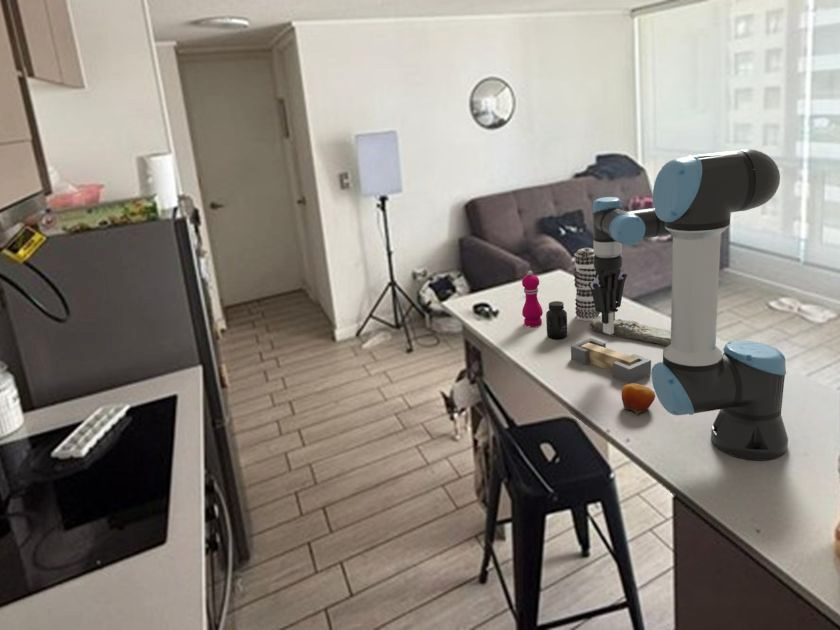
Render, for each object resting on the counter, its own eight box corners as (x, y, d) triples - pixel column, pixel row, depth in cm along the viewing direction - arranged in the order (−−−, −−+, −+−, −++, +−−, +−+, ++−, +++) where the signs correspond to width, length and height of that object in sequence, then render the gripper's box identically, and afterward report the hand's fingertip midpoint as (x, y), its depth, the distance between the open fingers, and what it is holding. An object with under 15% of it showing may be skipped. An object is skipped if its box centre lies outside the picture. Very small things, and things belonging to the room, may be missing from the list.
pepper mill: (521, 327, 216) (518, 274, 209) (524, 320, 223) (520, 268, 216) (542, 327, 214) (539, 273, 207) (544, 320, 220) (541, 267, 214)
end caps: (650, 374, 172) (651, 360, 170) (629, 383, 168) (629, 369, 166) (591, 351, 191) (591, 338, 189) (571, 359, 187) (570, 345, 186)
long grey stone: (685, 357, 183) (699, 347, 189) (687, 341, 181) (701, 331, 187) (582, 330, 206) (597, 322, 213) (583, 316, 204) (598, 308, 211)
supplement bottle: (568, 340, 201) (566, 306, 197) (547, 341, 202) (545, 307, 198) (567, 332, 207) (566, 299, 203) (547, 333, 209) (545, 300, 205)
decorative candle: (607, 316, 217) (605, 248, 208) (587, 323, 213) (586, 254, 204) (588, 310, 224) (586, 244, 216) (569, 317, 220) (567, 250, 212)
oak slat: (638, 374, 173) (638, 358, 172) (630, 378, 171) (630, 362, 170) (588, 357, 188) (588, 342, 186) (581, 360, 186) (580, 345, 184)
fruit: (611, 408, 154) (619, 378, 154) (624, 411, 160) (632, 382, 160) (641, 417, 148) (649, 386, 149) (654, 420, 154) (661, 389, 154)
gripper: (614, 246, 174) (614, 323, 182) (580, 257, 168) (582, 335, 176) (634, 251, 167) (634, 329, 176) (600, 261, 162) (601, 342, 170)
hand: (608, 332), depth 176 cm, fingers closed
